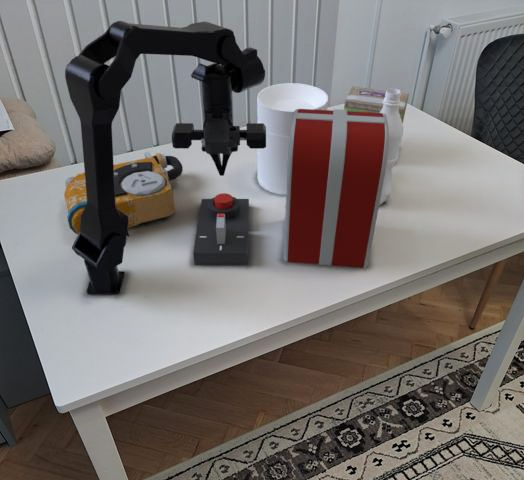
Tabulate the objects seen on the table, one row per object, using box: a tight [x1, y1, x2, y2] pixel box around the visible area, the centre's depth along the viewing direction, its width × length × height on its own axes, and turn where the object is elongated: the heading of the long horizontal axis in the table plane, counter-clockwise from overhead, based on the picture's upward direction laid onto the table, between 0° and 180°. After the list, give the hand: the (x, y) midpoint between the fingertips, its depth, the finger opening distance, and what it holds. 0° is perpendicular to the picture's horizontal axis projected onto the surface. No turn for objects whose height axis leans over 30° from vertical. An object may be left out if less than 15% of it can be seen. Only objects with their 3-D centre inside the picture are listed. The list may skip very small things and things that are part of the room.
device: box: [63, 151, 184, 235], centre depth 121 cm, size 23×8×30 cm
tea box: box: [343, 86, 410, 124], centre depth 136 cm, size 15×10×15 cm, turn 73°
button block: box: [197, 196, 250, 232], centre depth 118 cm, size 10×11×4 cm
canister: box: [256, 82, 329, 196], centre depth 125 cm, size 16×16×20 cm
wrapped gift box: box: [283, 108, 389, 269], centre depth 104 cm, size 16×18×27 cm
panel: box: [192, 222, 249, 266], centre depth 111 cm, size 11×11×3 cm
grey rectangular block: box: [216, 214, 226, 244], centre depth 108 cm, size 5×2×4 cm, turn 1°
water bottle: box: [379, 87, 404, 206], centre depth 116 cm, size 7×7×25 cm
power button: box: [214, 192, 234, 209], centre depth 116 cm, size 4×4×2 cm
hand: (221, 174), depth 112 cm, fingers closed
